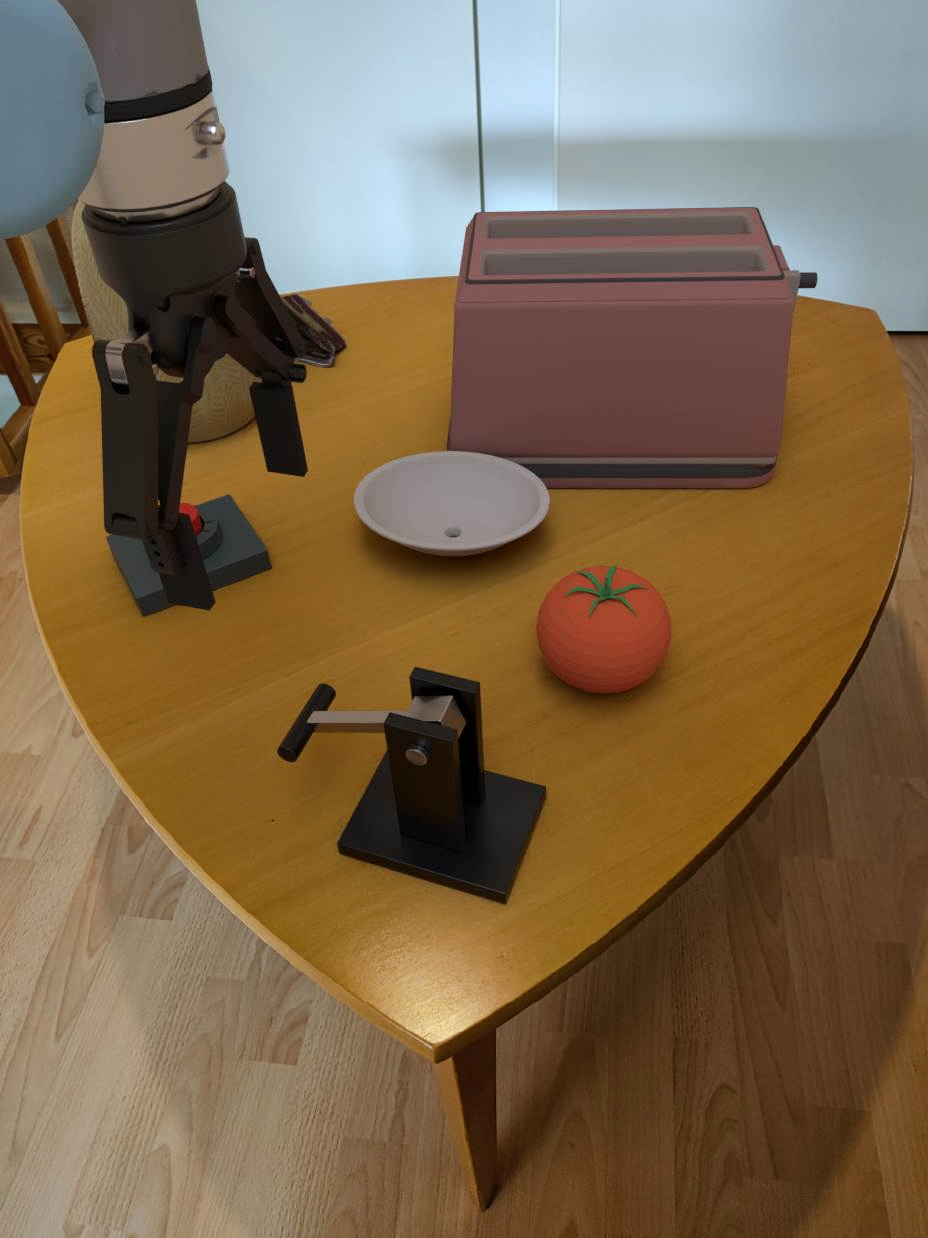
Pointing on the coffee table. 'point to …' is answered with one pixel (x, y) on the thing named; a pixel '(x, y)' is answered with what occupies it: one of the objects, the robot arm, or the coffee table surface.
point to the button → (192, 516)
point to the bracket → (444, 801)
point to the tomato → (603, 629)
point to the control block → (222, 546)
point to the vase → (223, 385)
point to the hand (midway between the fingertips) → (243, 532)
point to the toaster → (624, 346)
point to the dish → (451, 502)
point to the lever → (361, 719)
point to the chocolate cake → (313, 331)
